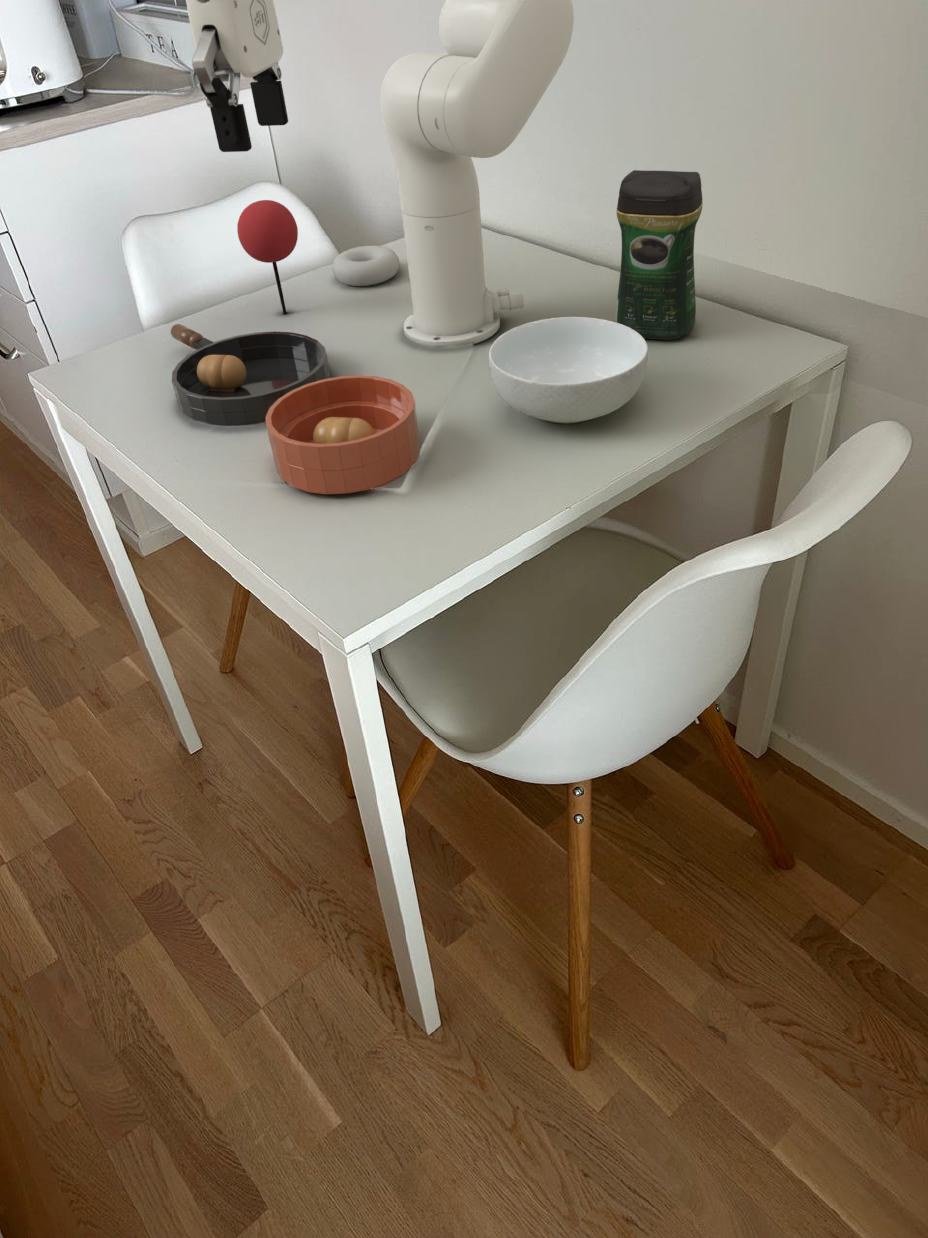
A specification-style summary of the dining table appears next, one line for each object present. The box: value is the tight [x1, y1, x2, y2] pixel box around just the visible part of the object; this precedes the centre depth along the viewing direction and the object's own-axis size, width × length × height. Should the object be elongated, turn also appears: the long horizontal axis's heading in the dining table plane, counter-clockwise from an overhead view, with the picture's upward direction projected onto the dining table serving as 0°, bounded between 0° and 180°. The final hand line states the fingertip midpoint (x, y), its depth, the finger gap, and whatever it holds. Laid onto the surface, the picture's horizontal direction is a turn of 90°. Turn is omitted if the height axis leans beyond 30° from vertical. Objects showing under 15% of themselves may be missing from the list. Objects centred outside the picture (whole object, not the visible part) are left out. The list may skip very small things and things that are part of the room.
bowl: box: [265, 374, 421, 495], centre depth 100 cm, size 15×15×6 cm
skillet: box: [171, 331, 332, 427], centre depth 115 cm, size 18×18×4 cm
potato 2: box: [313, 417, 375, 444], centre depth 101 cm, size 7×4×4 cm, turn 77°
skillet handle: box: [170, 323, 215, 350], centre depth 123 cm, size 10×2×2 cm, turn 42°
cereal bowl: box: [488, 316, 649, 424], centre depth 105 cm, size 17×17×7 cm
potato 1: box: [197, 355, 246, 392], centre depth 116 cm, size 6×4×4 cm, turn 77°
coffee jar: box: [615, 169, 704, 340], centre depth 115 cm, size 10×8×19 cm
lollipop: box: [236, 199, 299, 315], centre depth 131 cm, size 8×8×15 cm
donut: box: [331, 245, 401, 287], centre depth 143 cm, size 10×4×10 cm
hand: (255, 137), depth 97 cm, fingers open, 9 cm apart
